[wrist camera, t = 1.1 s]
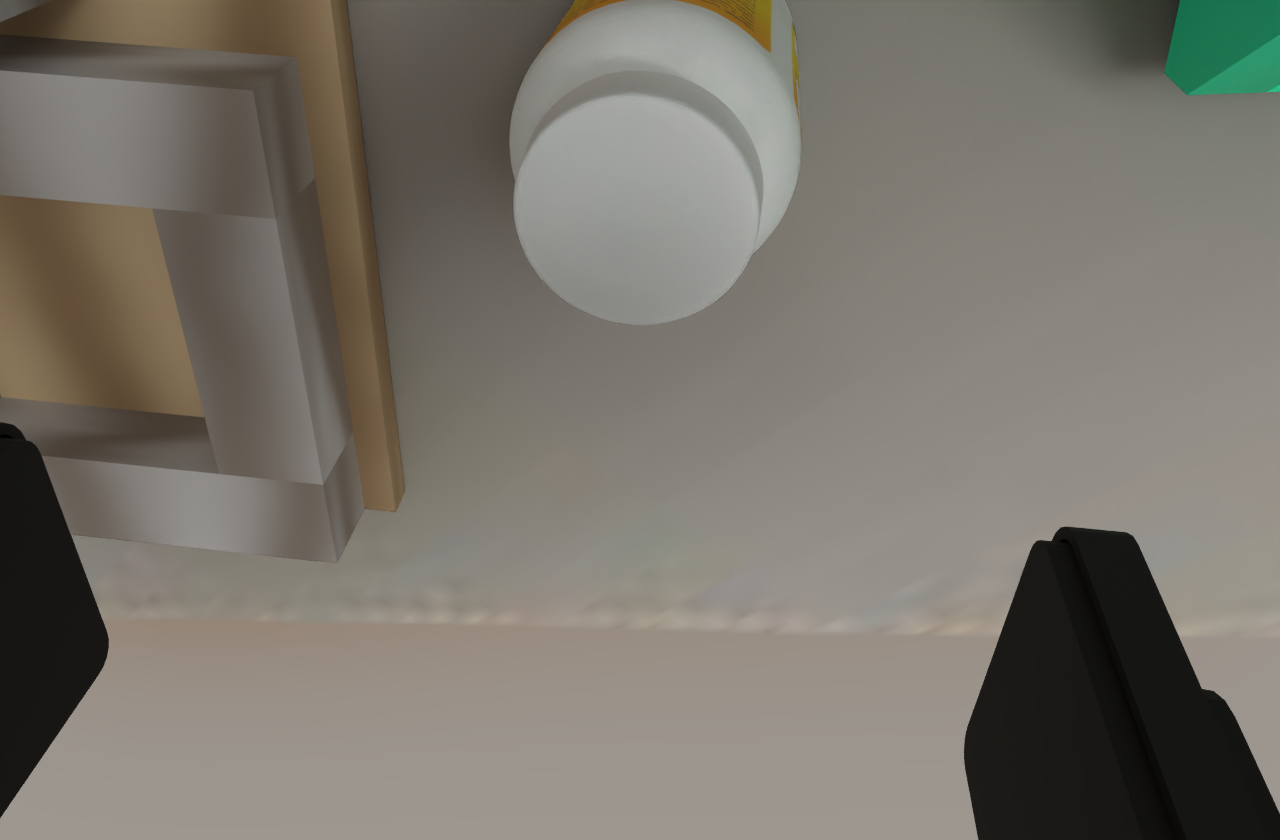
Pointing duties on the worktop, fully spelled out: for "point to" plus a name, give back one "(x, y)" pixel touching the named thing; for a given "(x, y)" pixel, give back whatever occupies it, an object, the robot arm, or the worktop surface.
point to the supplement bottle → (655, 151)
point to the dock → (119, 258)
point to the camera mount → (1225, 47)
